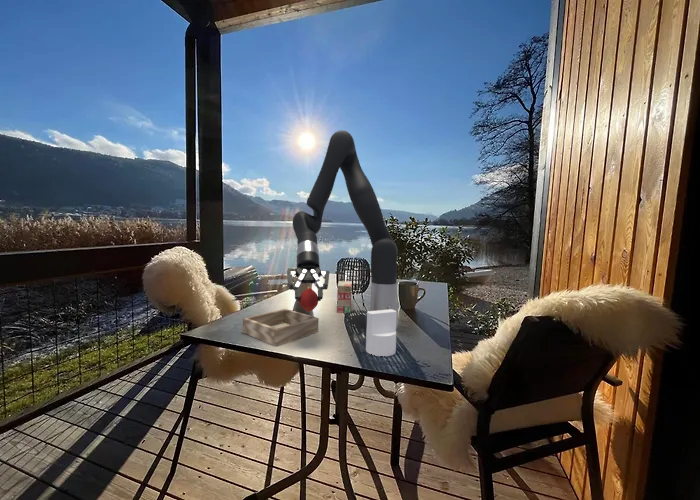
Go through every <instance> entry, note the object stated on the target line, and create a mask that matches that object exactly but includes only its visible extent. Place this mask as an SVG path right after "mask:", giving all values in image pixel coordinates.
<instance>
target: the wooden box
mask: <svg viewBox="0 0 700 500" xmlns="http://www.w3.org/2000/svg"><path fill="white" fill-rule="evenodd" d="M319 319H320V318H319V317H317V316H313V315H310V314H306V313H303V312H298V311H295V310H291V309H288V308H282V309H277V310H273V311H270V312H265V313H261V314H256V315H252V316H248V317H243V318H242V333H243V334H246V335H247V336H250V337H253V338H254V339H258V340H260V341H262V342H265V343H267V344H270V345H272V346H274V347H278V346H281V345H285V344H286V343H289V342H293V341H296V340H299V339H301V338H304V337H307V336H310V335H313V334H315V333H319V323H320V322H319V321H320V320H319ZM285 323H286V324H287V325H284V326H280V327H274V326H277V325H281V324H285Z"/></svg>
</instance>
